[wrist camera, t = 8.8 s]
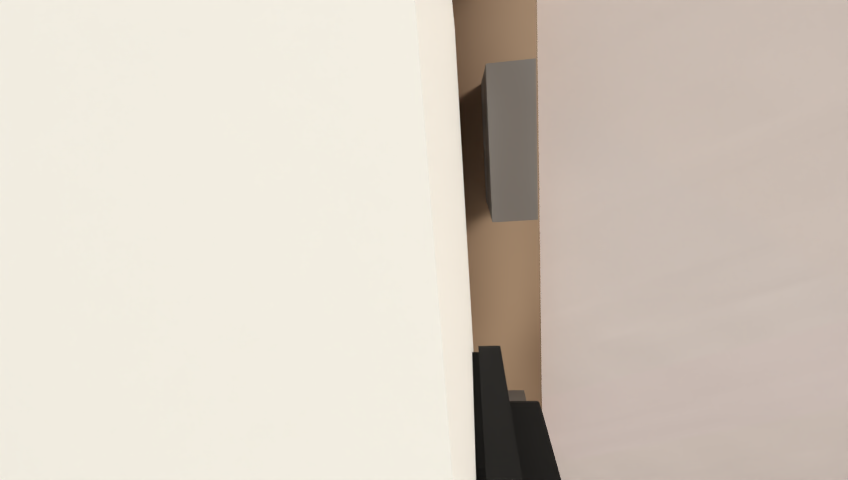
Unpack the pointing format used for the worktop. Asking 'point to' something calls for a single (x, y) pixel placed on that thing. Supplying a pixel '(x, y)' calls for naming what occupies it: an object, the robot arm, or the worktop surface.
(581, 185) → the worktop surface
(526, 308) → the cabinet base
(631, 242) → the worktop surface
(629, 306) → the worktop surface
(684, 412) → the worktop surface
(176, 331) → the door panel
